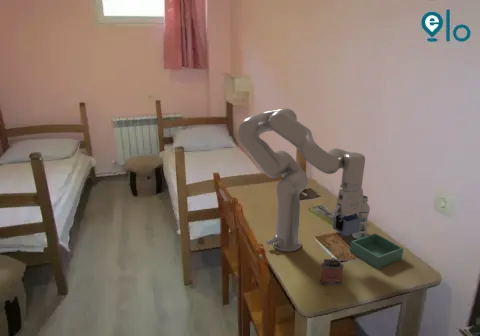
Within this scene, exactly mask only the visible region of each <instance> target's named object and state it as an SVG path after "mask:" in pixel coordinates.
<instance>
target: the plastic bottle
mask: <svg viewBox="0 0 480 336" xmlns="http://www.w3.org/2000/svg"><path fill="white" fill-rule="evenodd" d="M368 200H369V197H368V196H367V195H364V194H363V205H364V208H363V209H362V211H361V213H360V214H359V215H360V216H359V218H361V219H360V227H359V232H358V233H354V234H351V236H352V238H354V240H357V239H360V238H363V237H366V236H368V229H367V226H368V225H367V223H368V218H369V214H370V210H371V207H370V205H369V203H368V202H369V201H368Z"/></svg>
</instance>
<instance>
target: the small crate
mask: <svg viewBox="0 0 480 336" xmlns="http://www.w3.org/2000/svg"><path fill="white" fill-rule="evenodd" d="M341 216H342V215H341V214H340V216H339V217H340V218H341ZM360 219H361V218H359V217H357V216H355V215H350V216H344V219H343V229H342V231H339V230H338V229H336V219H335V218H334V217H333V224H332V229H333V230H334V231H336V232H338V233H339V234H341V235H343V236H344V237H347V236H348V237H349V236H350V235H351V236H352V234H354V233H358V232H359V227H360Z"/></svg>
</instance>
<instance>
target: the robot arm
mask: <svg viewBox="0 0 480 336" xmlns="http://www.w3.org/2000/svg"><path fill="white" fill-rule="evenodd" d="M272 131H273V132H274V133H276V134H277V135H278V136H279V137H281V138H283V139H284V140H286V141H287V142H288V143H290V144H291V145H293V146H294V147H295V148H296V149H298V151H299V153H300V154H301V155H302V157H303V158H304V159H305V161H307V162H308V163H309V164H310V165H311V166H313V167H314V168H315V169H317V170H319V172H321V173H324V174H326V175H332V174H335V173H336V172H338V171H339V170H340V169H342V173H341V182H340V183H341V184H339V185H340V186H339V187H340V188H339V191H338V194H337V199H336V204H335V205H336V206H335V208H334V209H333V210H332V211H331V215H332V216H333V219H334V218H335V219H336V229H338V230H339V231H342V229H343V219H344V216H350V215H355V216H357V217H359V216H360V215H359V214H360V213H361V211H362V209H363V208H364V205H363V195H364V191H363V190H364V189H363V186H362V185H363V180H364V172H365V165H366V156H365V155H364V154H362V153H359V152H350V151H347V150H343V149H341V148H331V149H329V150H328V151H326V150H324V149H323V148H322V147H320V146H319V145H318V144H317V143H316V141H315V140H314V138H313V134H312V130H311V129H310V128H309V127H307V126H305V125H304V124H302V123H301V122H300V121H298V117H297V113H296V112H294V110H293V109H290V108H286V107H285V108H281V109H276V110H275V109H274V110H269V111H263V112H260V113H257V114H253V115H251V116H248V117H246V118H244V120H242V121H241V123H240V124H239V127H238V130H237V136H238V137H237V138H238V139H239V140H238V141H239V143H240V144H241V146H242V147H243V148H244V149H245V151H246V152H247V153H248V154H249V155H250V156H251V158H252V159H253V160H254V162H255V163H256V164H257V165H258V167H259V168H260V169H261V171H262V172H263V173H264V174H265V175H266V176H267V177H268V178H271V179H275V178H278V177H280V176H281V179H279V180H278V182H277V184H276V187H275V194H276V224H275V225H276V226H275V228H276V230H275V234H274V235H273V238H271V239H267V240H266V241H265V243H266V245H267V246H269V245H272V247H273V248H274V249H275V250H277V251H280V252H284V253H285V252H286V253H287V252H288V253H292V252H296V251H298V250H300V249H301V248H302V241H301V240H300V239H299V228H300V212H301V210H300V209H301V203H300V195H301V193H302V192H303V191H304V190H305V189H306V187H308V184H309V178H308V176H307V173H306V172H305V171H304V169H303V168H302V167H301V166H300V165H299V163H298V162H297V161H296V159H294V158H293V156H292V154H290V153H288V152H286V151H285V150H276V151H274V150H273V149H272V148H271V146H270V145H269V144H268V143H267V142H266V141H265V140H264V139H262V138H261V137H260V136H261V135H262V134H265V133H268V132H272ZM340 214H341V215H342V216H341V218H340V217H339V216H340Z"/></svg>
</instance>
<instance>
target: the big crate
mask: <svg viewBox="0 0 480 336" xmlns="http://www.w3.org/2000/svg"><path fill="white" fill-rule="evenodd" d="M349 249H350V250H349V252H350V254H352V253H353V255H354V254H355V255H354V256H355V257H357V258H359V259H360V260H362V261H363V262H366V263H367V264H368V265H370V266H372V267H373V268H374V269H376V270H378V269H380V268H383V267H387V266H388V265H390V264H394V263H396V262H399V261H400V260H402V259H403V253H404V248H403V247H401V246H400V245H399V244H396V243H395V242H392V241H390V240H389V239H387V238H385V237H383V236H381V235H379V234H377V233H372V234H369V235H367V236H366V237H363V238H360V239H354V240H351V241H350V247H349Z"/></svg>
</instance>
